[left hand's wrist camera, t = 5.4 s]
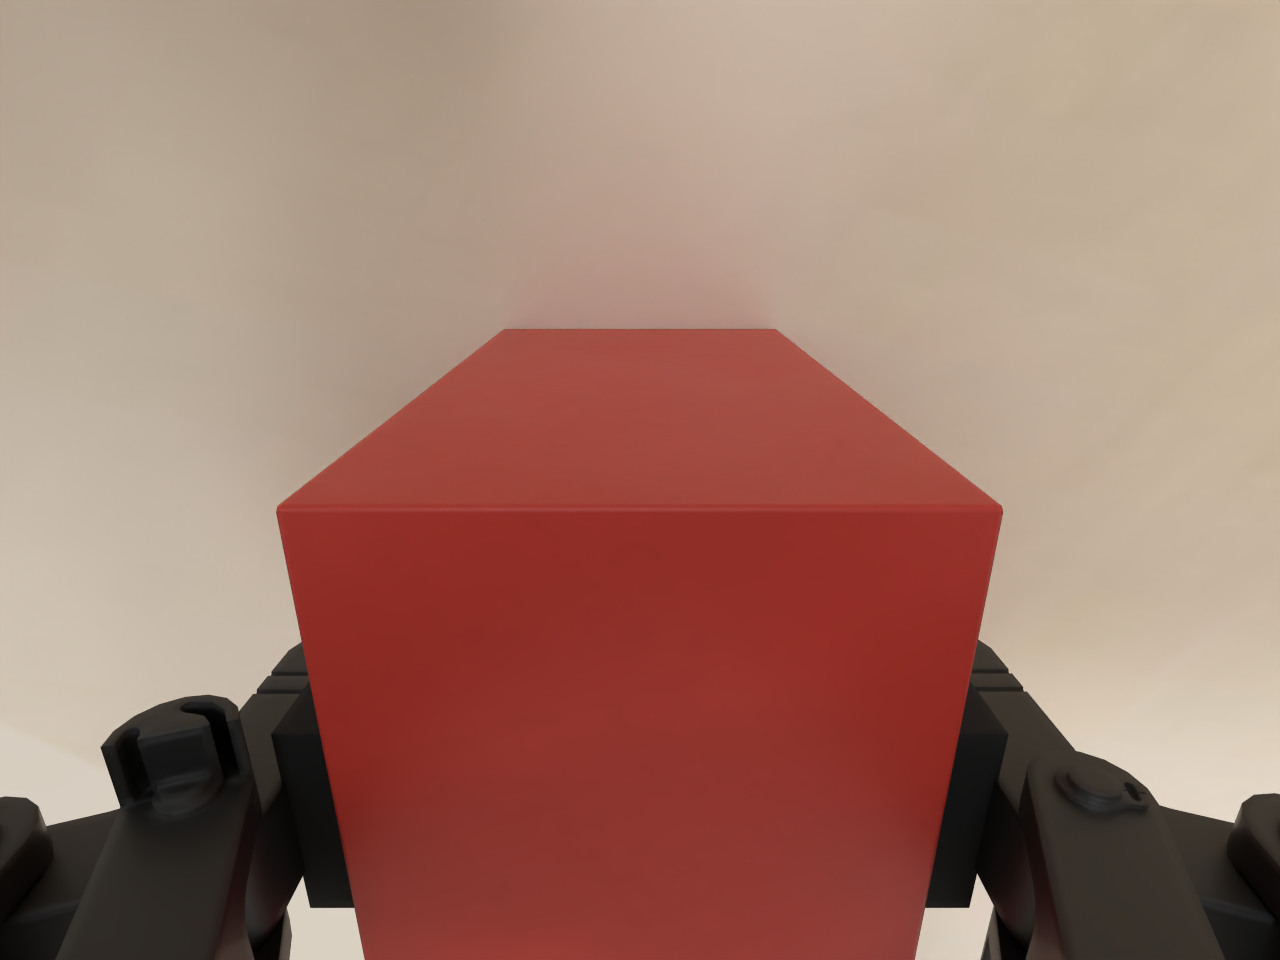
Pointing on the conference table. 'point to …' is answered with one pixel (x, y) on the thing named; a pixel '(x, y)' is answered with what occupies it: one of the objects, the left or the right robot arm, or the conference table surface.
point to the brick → (639, 654)
